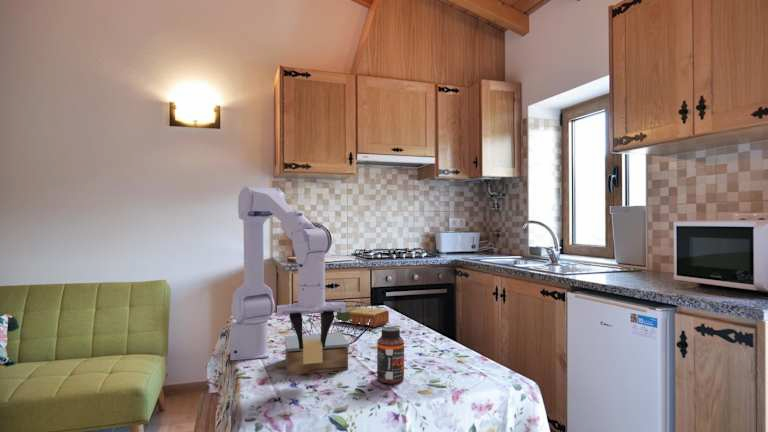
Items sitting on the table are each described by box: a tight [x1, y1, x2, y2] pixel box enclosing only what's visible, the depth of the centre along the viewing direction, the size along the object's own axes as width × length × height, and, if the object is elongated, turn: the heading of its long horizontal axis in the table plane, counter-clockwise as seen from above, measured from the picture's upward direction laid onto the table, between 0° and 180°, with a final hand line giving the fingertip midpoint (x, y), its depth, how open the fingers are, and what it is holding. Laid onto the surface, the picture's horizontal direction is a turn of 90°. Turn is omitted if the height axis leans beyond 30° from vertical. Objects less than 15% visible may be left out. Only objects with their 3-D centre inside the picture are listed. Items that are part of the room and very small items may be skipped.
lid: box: [284, 332, 350, 351], centre depth 110 cm, size 14×12×1 cm
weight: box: [302, 338, 323, 364], centre depth 97 cm, size 4×4×4 cm
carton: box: [336, 306, 390, 328], centre depth 152 cm, size 8×16×4 cm, turn 56°
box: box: [284, 346, 349, 376], centre depth 111 cm, size 14×12×5 cm
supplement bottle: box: [376, 326, 405, 385], centre depth 100 cm, size 6×6×11 cm
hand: (311, 347), depth 98 cm, fingers closed on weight, 4 cm apart
